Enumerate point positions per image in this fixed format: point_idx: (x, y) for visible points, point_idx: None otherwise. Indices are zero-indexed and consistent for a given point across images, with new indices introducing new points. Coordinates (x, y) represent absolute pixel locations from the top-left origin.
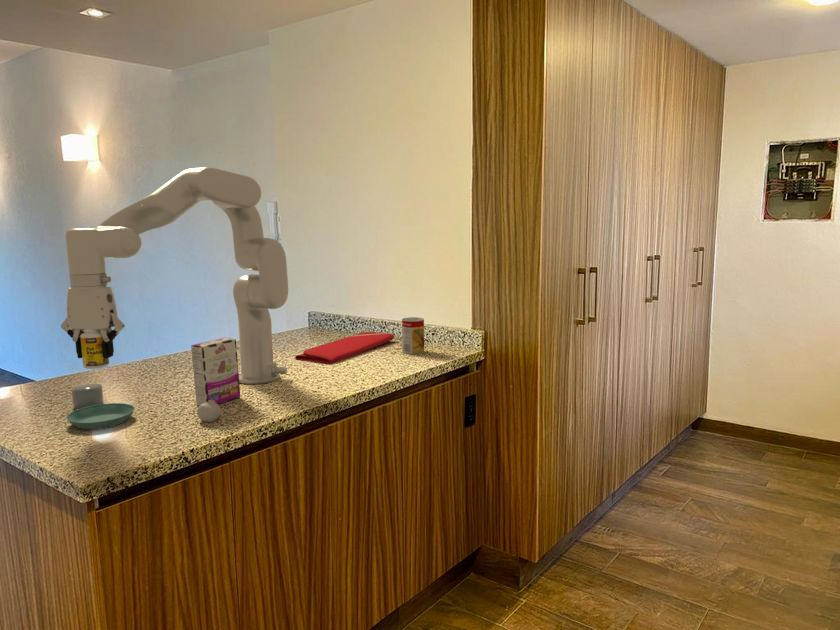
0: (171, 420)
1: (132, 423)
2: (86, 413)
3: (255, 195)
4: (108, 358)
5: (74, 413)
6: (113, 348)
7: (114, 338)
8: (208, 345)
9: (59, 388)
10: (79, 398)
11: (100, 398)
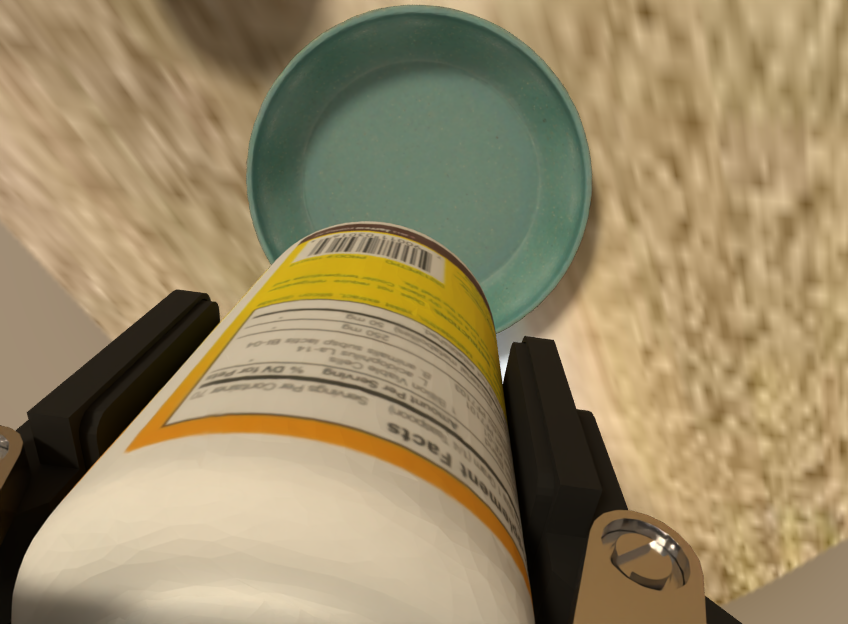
0: (787, 205)
1: (588, 234)
2: (294, 114)
3: None
4: (496, 342)
5: (259, 175)
6: (602, 442)
7: (678, 550)
8: None
9: None
10: None
11: None
